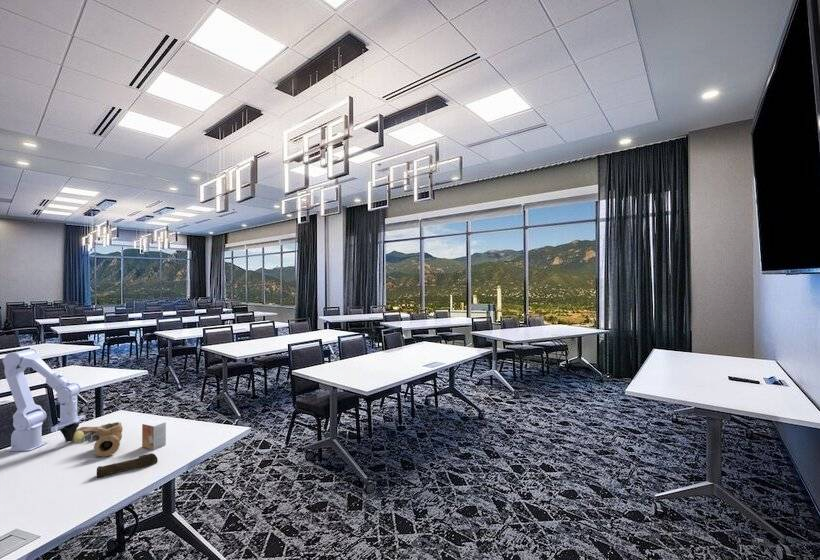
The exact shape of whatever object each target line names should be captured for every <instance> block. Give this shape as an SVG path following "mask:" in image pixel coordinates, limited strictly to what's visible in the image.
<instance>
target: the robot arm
mask: <svg viewBox="0 0 820 560" xmlns="http://www.w3.org/2000/svg"><path fill="white" fill-rule="evenodd" d="M2 364H3V366H4V370H3V371H4V372H3V373H4V376H5V378H6V379H5V380H6V381H7V384H8V387H9V389H10V392H11V394H12V397H13V401H14V403H15V407H16V411H15V412H14V413H13V415H12V419H13V420H12V421H13V422H12V425H13V427H14V430H13V431H12V433H11V436H10V444H11V445H10V449H9V450H8V451H9V452H29V451H33V450H34V449H37V448H38V447H42V446H43V445H47V444H48V442H49V441H43V434H42V433H43V432H42V431H43V430H42V429H43V427H42V425H44V421H46V419H47V412H46V411H45V410H44V409H43V408H42V406H41V405H39V404H36V403H35V400H34V398H33V395H32V392H31V389H30V386H29V383H28V381H27V377H26V375H25V370H26V369H27V368H31V369H33V370H34V371H36V372H37V373H38V374H40V375H41V376H42V377H43V378H45V383H46V384H47V385H48V386H49V387H50V388H52V389H53V391H54V392H56V393H55V396H56V398H57V399H58V402H59V417H60V419H59V422H58V423H57V424H55V425H53V426H51V427H50V432H51V433H54V432H55V433H56V432H58V431H60V432H61V435H63V438H64V440H66V442H65V443H68V442H70V441H72V440H73V437H74V434H75V431H76V429H79V427H80V423H79V422H81V421H83V420H86V414H81V415H78V395H79V394H80V393H81V386H80V385H79V384H78V383H76V382H72V381H70V380H68V378H66V376H64V374H63V373H60V372H55V371H54V370H53V369H52V368H51V367H50V366H49V365H48V364H47V363H46V361H44V360H43V359H42V355H41V353H39V352H38V351H37V349H34V348H28V349H24V350H19V351H14V352H13V351H12V352H9V353H7V354H6V355H5V356H4V357H3V358H2Z"/></svg>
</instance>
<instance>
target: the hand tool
mask: <svg viewBox="0 0 820 560" xmlns="http://www.w3.org/2000/svg"><path fill="white" fill-rule="evenodd" d="M158 460H159V459H158V457H157V455H156V454H155V453H153V452H152V453H146V454H142V455H139V456H138V457H137V458H134V459H130V460H125V461H121V462H116V463H112V464H106V465H102V466H101V465H99V466H97V467H96V478H97V479H98V478H100V477H104V476H107V475H111V474H115V473H118V472H123V471H124V472H125V471H128V470H131V469H136V468H139V469H142V468H146V467H150V466H152V465H155V464H157V463H158Z"/></svg>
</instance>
